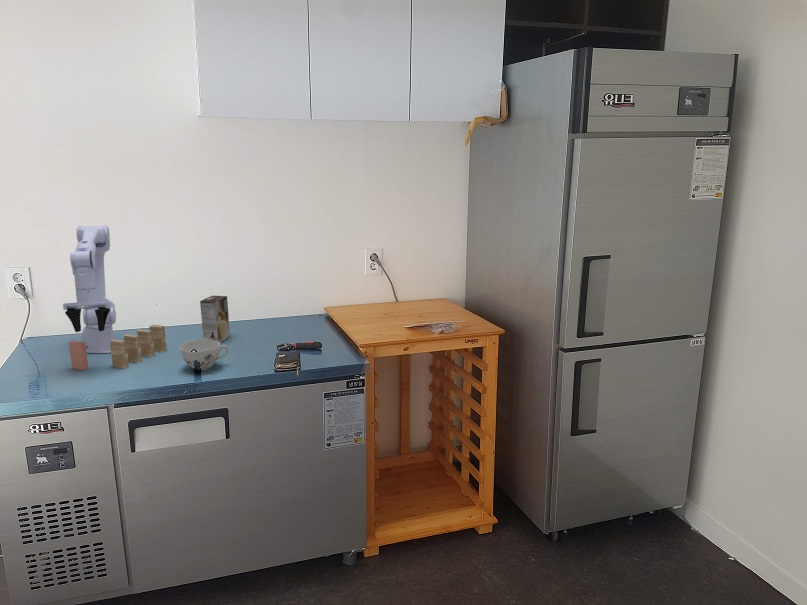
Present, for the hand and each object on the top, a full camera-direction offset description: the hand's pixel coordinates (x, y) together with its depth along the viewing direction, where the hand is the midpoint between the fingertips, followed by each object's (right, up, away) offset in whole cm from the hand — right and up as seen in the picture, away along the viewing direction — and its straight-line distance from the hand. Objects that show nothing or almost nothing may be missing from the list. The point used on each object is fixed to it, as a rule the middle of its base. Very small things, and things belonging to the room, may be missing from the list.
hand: (89, 331), depth 198 cm
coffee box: (+30, -5, +35) cm, 46 cm away
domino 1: (+7, -12, +7) cm, 15 cm away
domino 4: (+13, -8, +23) cm, 28 cm away
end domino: (-6, -12, +5) cm, 14 cm away
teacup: (+35, -12, +7) cm, 38 cm away
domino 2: (+9, -11, +12) cm, 18 cm away
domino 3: (+11, -9, +18) cm, 23 cm away
